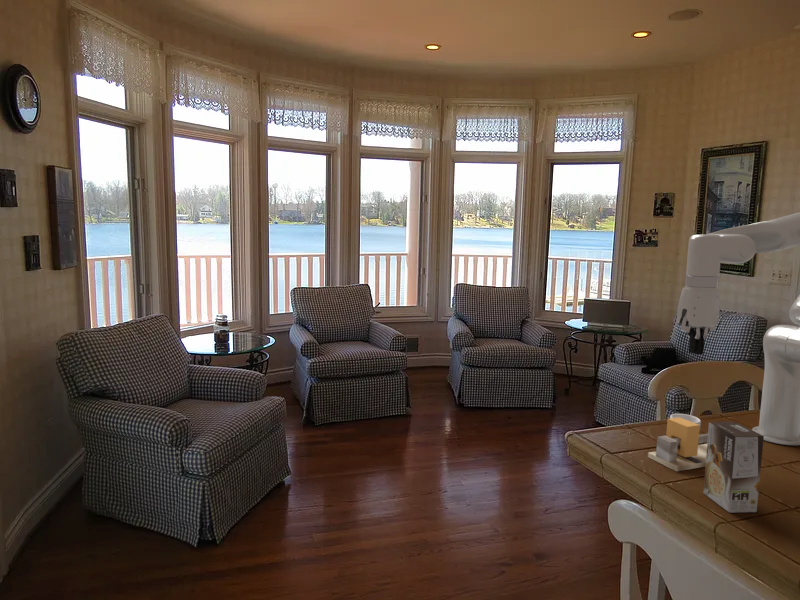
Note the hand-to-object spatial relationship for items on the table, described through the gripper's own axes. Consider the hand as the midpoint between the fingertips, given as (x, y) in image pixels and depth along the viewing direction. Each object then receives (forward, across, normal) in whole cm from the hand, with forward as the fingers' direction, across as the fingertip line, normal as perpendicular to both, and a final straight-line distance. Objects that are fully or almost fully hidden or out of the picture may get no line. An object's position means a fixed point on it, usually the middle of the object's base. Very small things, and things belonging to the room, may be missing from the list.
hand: (695, 353), depth 148 cm
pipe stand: (+25, +6, +7) cm, 27 cm away
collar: (+23, +10, +7) cm, 26 cm away
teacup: (+25, -4, -5) cm, 26 cm away
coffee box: (+25, +18, +27) cm, 41 cm away
